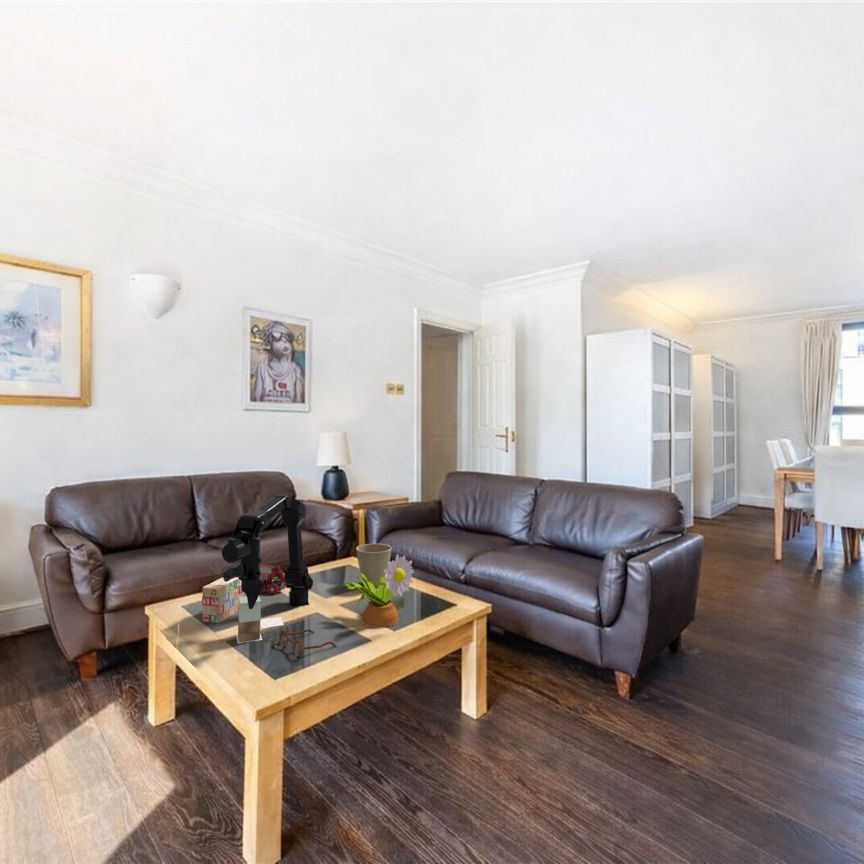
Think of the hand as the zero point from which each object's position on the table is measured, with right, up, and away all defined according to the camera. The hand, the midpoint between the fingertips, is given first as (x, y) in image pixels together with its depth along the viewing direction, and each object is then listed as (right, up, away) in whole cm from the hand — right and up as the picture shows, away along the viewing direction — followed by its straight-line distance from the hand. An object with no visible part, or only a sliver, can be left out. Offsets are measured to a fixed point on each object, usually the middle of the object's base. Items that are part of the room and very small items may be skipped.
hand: (249, 603), depth 155 cm
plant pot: (+32, -11, +55) cm, 65 cm away
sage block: (0, -5, 0) cm, 5 cm away
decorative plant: (+39, -12, +19) cm, 45 cm away
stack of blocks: (-15, -11, +21) cm, 28 cm away
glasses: (+19, -12, -3) cm, 23 cm away
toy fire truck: (-8, -10, +43) cm, 45 cm away
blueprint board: (+1, -11, +4) cm, 12 cm away
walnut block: (0, -11, 0) cm, 11 cm away
